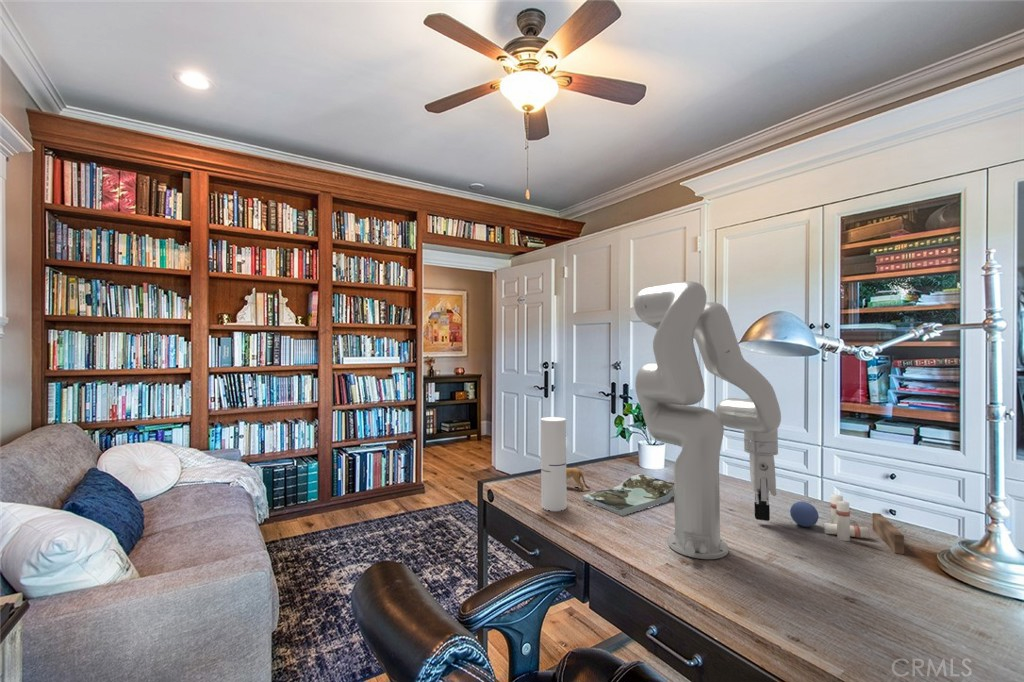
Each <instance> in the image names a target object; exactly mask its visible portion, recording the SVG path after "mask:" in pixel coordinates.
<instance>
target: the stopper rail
mask: <svg viewBox="0 0 1024 682" xmlns="http://www.w3.org/2000/svg"><path fill="white" fill-rule="evenodd" d="M872 530H873V531H874V532H875V533H876V534H877V535H878V536H879V538H880V539H882V541H883V542H884V543H885V544H886V545H887V546H888V547H889V548H890V550H892V551H893V553H894V554H898V555H905V535H904V534H903V533H902V532H901V531H900V530H899V529H897V528H896V527H895V526H894V525H893V524H892V523H891V522H890V521H889V520H888V519H887V518H886V517H884V515H882V513H878V512H877V513H876V512H872Z"/></svg>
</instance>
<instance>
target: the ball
mask: <svg viewBox="0 0 1024 682" xmlns="http://www.w3.org/2000/svg"><path fill="white" fill-rule="evenodd" d="M789 512H790V513H789V515H790V517H791V519H792V520H793V521H794V522H795V523H796V524H797V525H799V526H800V527H804V528H808V527H809V528H810V527H813V526H815V525H816V524H817V522H818V521H819V512H818V510H817V508H816V507H815V506H814V505H812V504H811V503H810V502H808V501H803V500H800V501H796V502H794V503H793V504H792V505H791V507H790V510H789Z"/></svg>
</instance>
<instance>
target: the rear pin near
mask: <svg viewBox="0 0 1024 682" xmlns="http://www.w3.org/2000/svg"><path fill="white" fill-rule="evenodd" d="M836 514H837V536H836V538H837V539H838V540H839V541H842V542H843V541H844V542H850V541H851V536H850V526H851V524H850V523H851V521H850V518H851V511H850V503H849V502H847V501H844V500H843V501H837V509H836Z"/></svg>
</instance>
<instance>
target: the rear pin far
mask: <svg viewBox="0 0 1024 682" xmlns="http://www.w3.org/2000/svg"><path fill="white" fill-rule="evenodd" d="M837 501H844V496H843V495H841V494H835V493H834V494H833V493H832V494H830V515H831V518H830V519H831V524H837V514H836V509H837Z"/></svg>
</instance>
